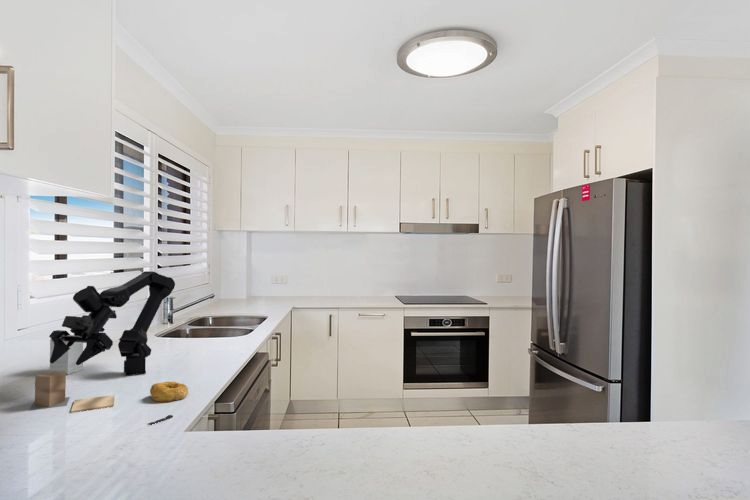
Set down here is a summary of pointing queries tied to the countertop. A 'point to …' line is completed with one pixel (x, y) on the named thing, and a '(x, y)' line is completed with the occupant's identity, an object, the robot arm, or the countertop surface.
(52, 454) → the countertop surface
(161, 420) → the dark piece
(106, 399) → the coaster
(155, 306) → the robot arm
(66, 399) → the gray mat
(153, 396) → the bagel
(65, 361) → the supplement box
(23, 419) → the countertop surface
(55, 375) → the walnut block
